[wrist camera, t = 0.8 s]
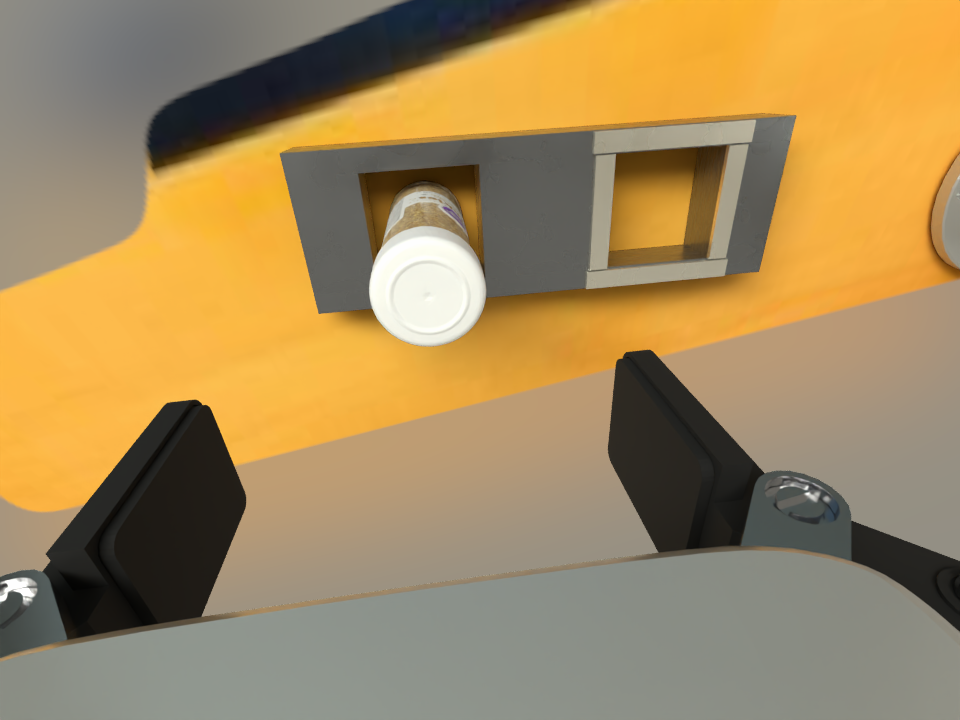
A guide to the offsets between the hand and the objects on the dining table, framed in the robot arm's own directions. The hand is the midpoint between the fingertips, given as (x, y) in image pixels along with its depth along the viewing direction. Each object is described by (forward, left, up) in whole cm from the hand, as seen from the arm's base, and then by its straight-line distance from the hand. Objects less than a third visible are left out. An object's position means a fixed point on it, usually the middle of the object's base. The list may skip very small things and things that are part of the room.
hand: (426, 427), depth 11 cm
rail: (-7, 0, -22) cm, 23 cm away
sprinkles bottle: (0, 0, -22) cm, 22 cm away
